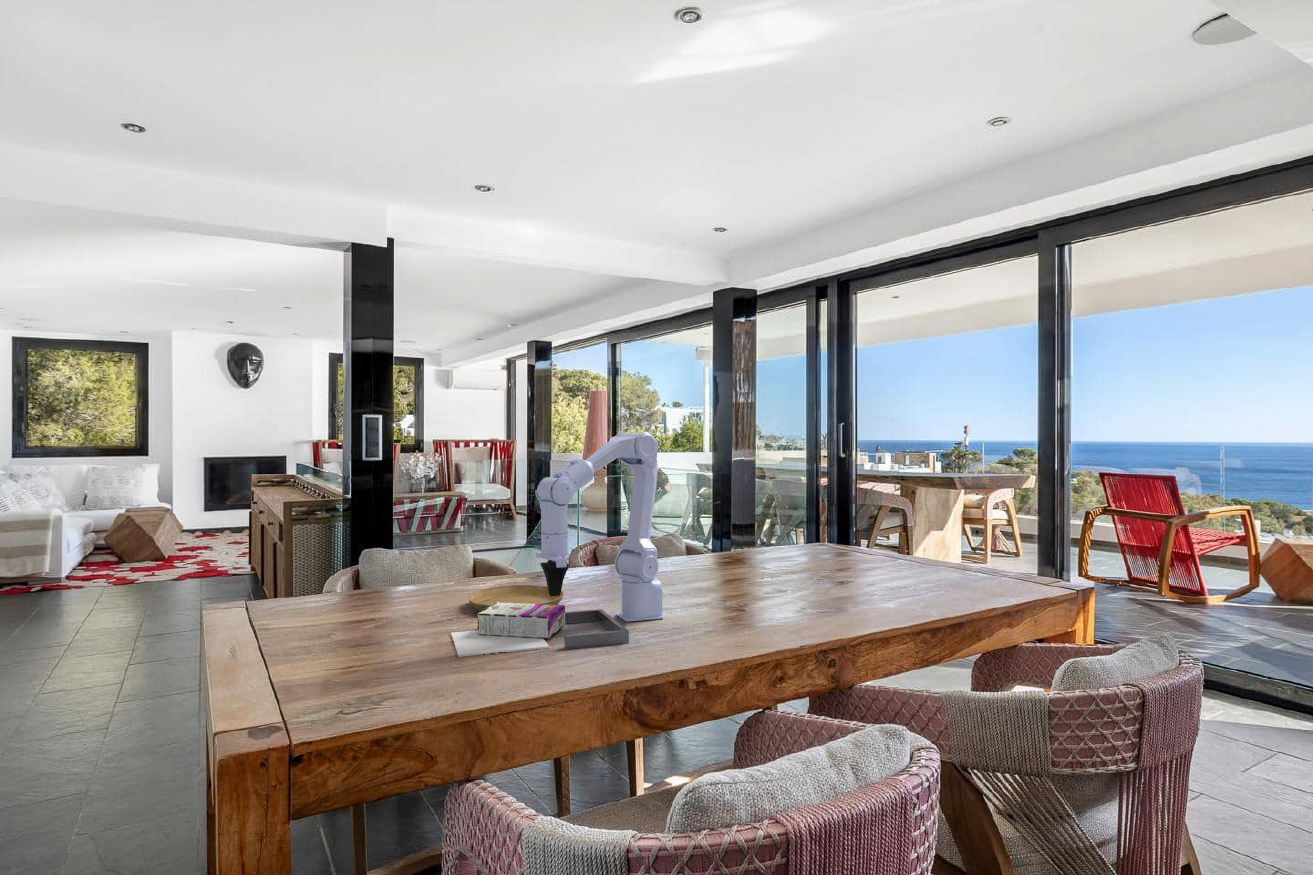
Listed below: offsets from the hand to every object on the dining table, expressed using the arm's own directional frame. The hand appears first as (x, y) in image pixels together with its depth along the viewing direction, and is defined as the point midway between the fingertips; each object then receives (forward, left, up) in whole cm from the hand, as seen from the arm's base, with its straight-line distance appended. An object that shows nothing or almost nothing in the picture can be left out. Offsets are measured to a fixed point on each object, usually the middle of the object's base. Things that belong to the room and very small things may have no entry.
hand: (554, 595), depth 163 cm
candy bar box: (-1, -1, -6) cm, 6 cm away
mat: (+12, 0, -9) cm, 15 cm away
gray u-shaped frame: (-7, 0, -9) cm, 11 cm away
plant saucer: (+3, -32, -9) cm, 33 cm away
